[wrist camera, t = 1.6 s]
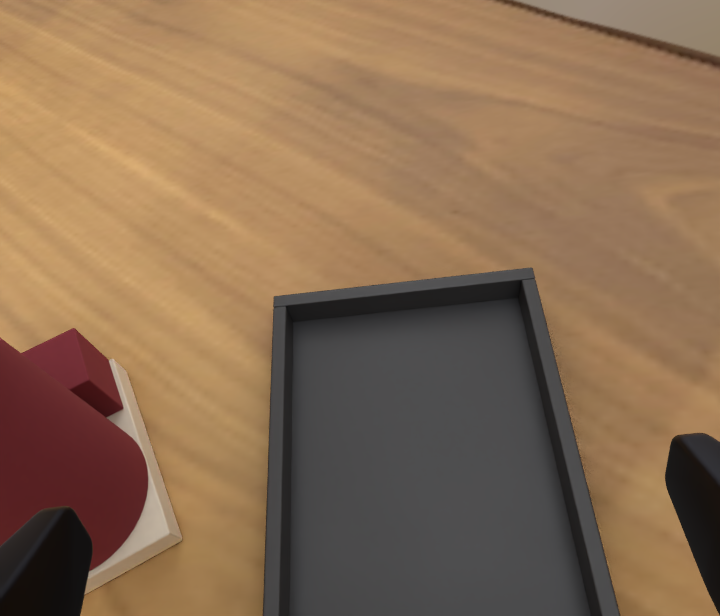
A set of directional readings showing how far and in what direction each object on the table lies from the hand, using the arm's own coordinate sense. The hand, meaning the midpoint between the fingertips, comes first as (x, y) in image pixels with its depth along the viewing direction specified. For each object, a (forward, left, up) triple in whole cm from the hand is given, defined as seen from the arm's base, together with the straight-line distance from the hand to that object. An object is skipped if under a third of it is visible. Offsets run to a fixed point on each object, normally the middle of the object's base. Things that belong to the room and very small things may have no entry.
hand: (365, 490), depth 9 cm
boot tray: (+4, +2, -15) cm, 16 cm away
